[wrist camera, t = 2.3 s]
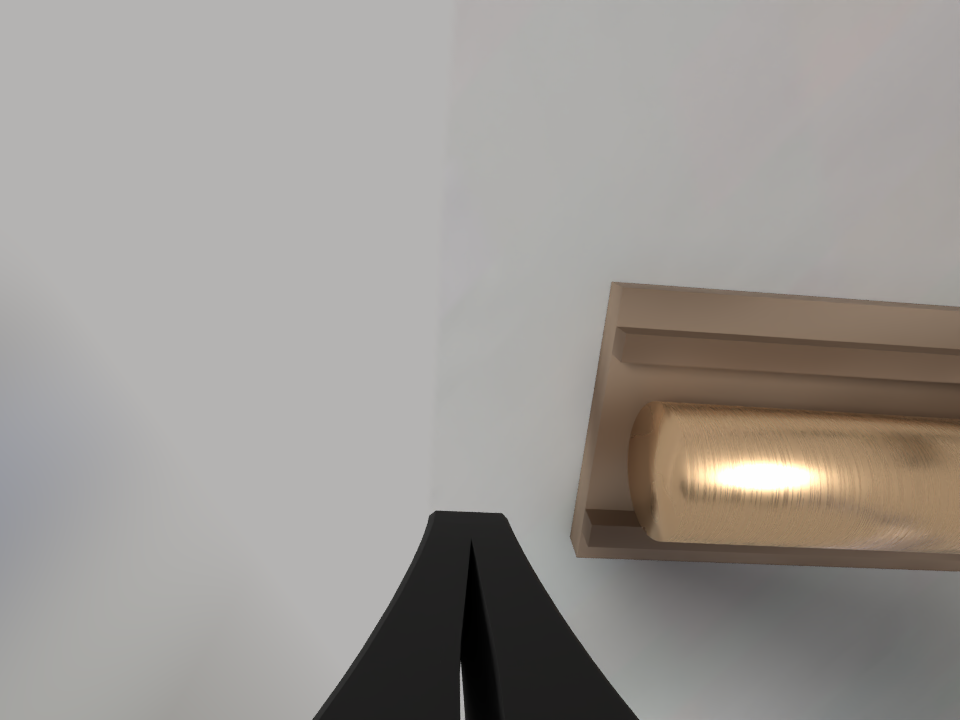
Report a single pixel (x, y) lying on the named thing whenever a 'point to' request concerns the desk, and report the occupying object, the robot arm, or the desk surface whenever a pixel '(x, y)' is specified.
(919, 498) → the thermos bottle
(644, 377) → the board
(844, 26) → the desk surface
